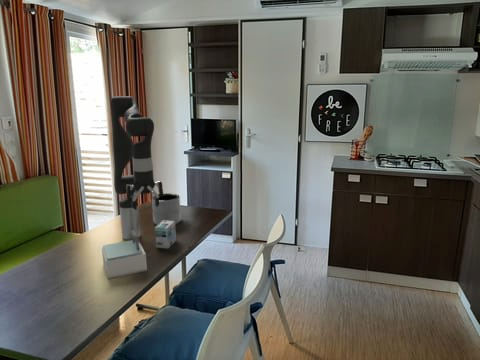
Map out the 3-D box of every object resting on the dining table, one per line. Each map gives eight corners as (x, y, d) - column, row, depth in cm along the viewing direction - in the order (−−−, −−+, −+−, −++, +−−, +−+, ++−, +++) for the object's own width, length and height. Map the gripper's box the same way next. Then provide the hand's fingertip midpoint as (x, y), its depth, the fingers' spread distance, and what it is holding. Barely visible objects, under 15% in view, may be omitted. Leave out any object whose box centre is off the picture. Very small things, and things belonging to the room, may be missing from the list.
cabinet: (103, 263, 163) (101, 246, 161) (139, 256, 170) (138, 240, 168) (108, 279, 149) (106, 261, 148) (147, 270, 156) (145, 253, 154)
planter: (178, 226, 207) (176, 200, 203) (150, 227, 207) (148, 200, 203) (183, 217, 222) (181, 192, 218) (156, 217, 222) (155, 193, 219)
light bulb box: (168, 248, 178) (167, 228, 175) (155, 247, 179) (154, 227, 177) (176, 240, 188) (175, 220, 186) (164, 239, 189) (163, 219, 187)
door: (102, 246, 161) (101, 233, 160) (135, 240, 167) (134, 228, 166) (107, 260, 148) (105, 246, 147) (141, 253, 154) (140, 239, 153)
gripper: (158, 165, 150) (161, 202, 154) (122, 168, 144) (126, 207, 148) (163, 168, 143) (165, 207, 147) (126, 172, 137) (129, 213, 141)
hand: (146, 207), depth 148 cm, fingers open, 8 cm apart
